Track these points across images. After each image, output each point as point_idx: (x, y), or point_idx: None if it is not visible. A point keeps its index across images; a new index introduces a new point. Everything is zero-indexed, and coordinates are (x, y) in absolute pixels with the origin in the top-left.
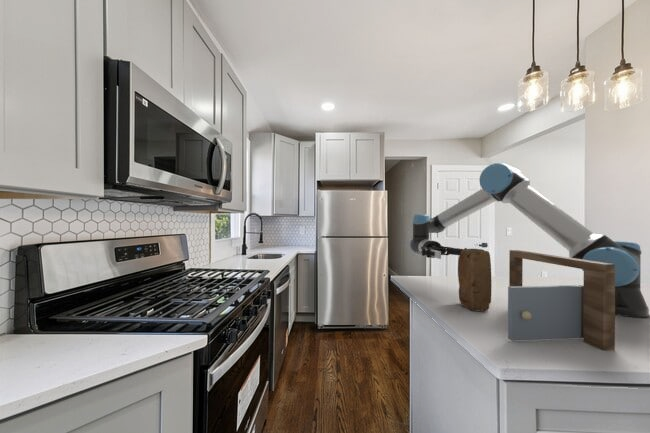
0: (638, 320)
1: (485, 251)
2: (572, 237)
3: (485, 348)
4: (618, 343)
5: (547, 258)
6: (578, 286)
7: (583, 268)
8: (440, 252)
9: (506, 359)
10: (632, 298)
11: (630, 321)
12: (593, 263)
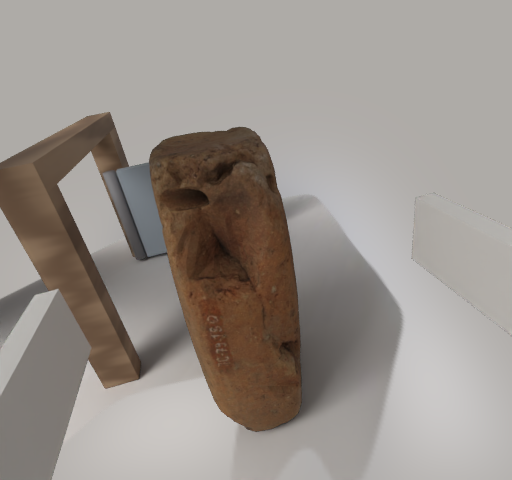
0: None
1: (180, 135)
2: None
3: (316, 209)
4: (101, 260)
5: (88, 135)
6: (122, 168)
7: (109, 130)
8: (420, 203)
9: (299, 200)
10: None
11: None
12: (107, 114)
